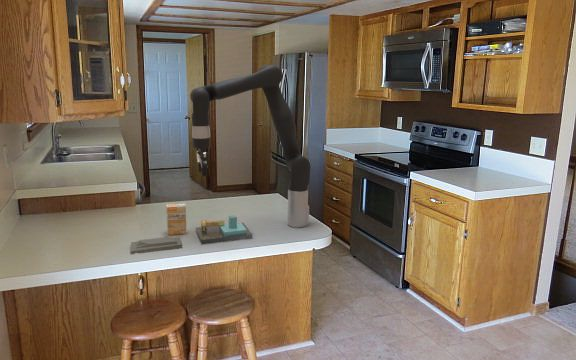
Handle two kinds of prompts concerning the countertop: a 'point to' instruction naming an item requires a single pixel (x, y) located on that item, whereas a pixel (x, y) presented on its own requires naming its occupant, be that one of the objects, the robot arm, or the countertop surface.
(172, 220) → the supplement box
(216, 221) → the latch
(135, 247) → the soap mold
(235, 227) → the cover
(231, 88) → the robot arm
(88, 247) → the countertop surface
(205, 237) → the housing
